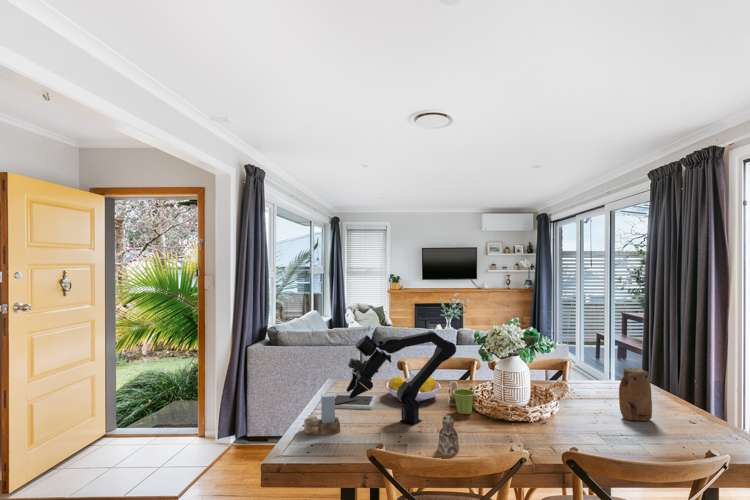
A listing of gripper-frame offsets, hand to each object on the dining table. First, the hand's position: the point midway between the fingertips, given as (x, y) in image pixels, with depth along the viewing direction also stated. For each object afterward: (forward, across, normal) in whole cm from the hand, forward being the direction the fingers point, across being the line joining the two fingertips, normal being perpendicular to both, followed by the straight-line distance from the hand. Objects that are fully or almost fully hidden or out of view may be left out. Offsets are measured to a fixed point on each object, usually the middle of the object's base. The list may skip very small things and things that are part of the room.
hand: (348, 394), depth 164 cm
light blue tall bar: (+15, 0, +3) cm, 15 cm away
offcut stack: (+19, +1, -3) cm, 19 cm away
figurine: (-11, +27, +33) cm, 44 cm away
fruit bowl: (-14, -30, +34) cm, 48 cm away
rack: (+17, +1, +1) cm, 17 cm away
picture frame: (+6, -30, +13) cm, 33 cm away
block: (-69, +16, +95) cm, 119 cm away
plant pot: (-25, -7, +47) cm, 53 cm away
